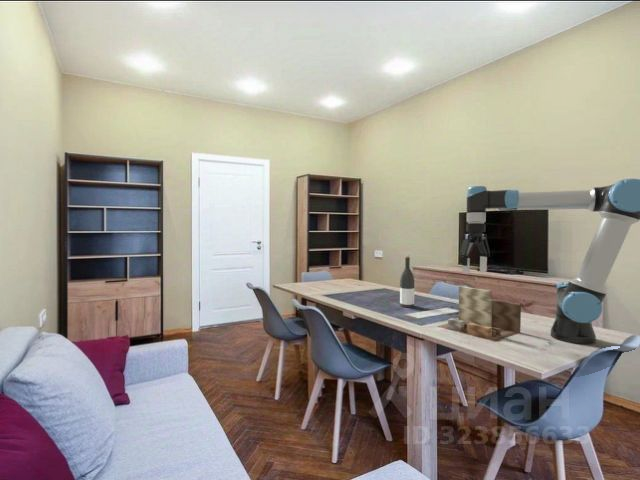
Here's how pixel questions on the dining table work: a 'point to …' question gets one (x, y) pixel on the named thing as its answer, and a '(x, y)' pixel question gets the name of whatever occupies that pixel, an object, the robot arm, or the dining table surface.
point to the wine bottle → (407, 286)
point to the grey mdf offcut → (456, 324)
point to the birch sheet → (475, 306)
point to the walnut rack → (500, 320)
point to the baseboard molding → (432, 313)
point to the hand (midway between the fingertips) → (474, 272)
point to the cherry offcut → (479, 330)
